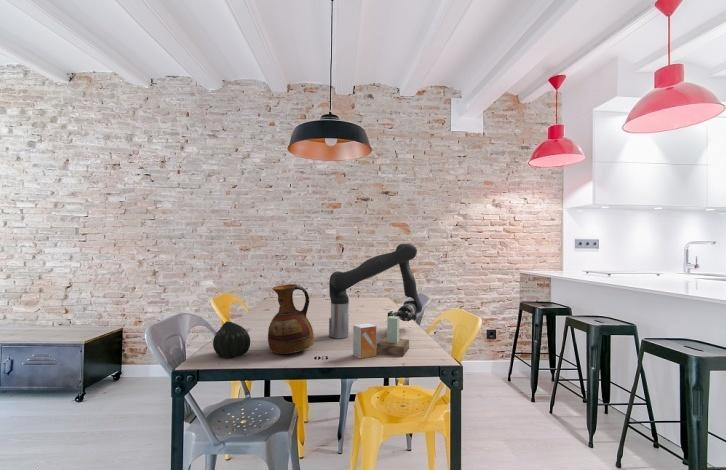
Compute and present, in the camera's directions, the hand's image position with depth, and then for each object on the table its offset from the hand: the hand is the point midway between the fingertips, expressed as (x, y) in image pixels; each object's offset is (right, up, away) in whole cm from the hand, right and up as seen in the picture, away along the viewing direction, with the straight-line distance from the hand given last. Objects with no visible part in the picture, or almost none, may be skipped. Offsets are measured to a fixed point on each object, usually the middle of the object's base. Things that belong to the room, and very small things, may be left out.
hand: (399, 318), depth 177 cm
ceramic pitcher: (-50, -12, -13) cm, 53 cm away
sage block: (-4, -8, -11) cm, 14 cm away
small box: (-17, -12, -18) cm, 28 cm away
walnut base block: (-4, -12, -11) cm, 17 cm away
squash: (-74, -12, -19) cm, 77 cm away
